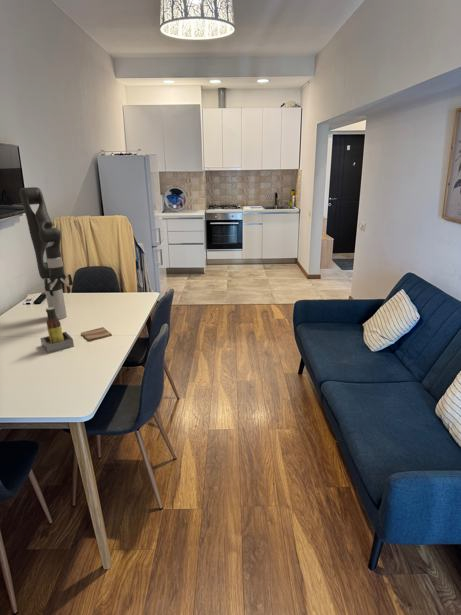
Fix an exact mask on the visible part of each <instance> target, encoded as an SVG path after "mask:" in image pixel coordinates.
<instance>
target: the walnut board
mask: <svg viewBox="0 0 461 615" xmlns="http://www.w3.org/2000/svg"><path fill="white" fill-rule="evenodd" d="M80 334H81V336H82V337H84V339H86V340H87V341H88V342H93V341H97V340H100V339H104V338H108V337H111V336H113V335H112V333H111V332H110V331H109V330H107V329H106V328H105V327H103V326H102V327H99V328H94V329H90V330H87V331H82V332H81V333H80Z"/></svg>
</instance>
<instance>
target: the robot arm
mask: <svg viewBox="0 0 461 615" xmlns="http://www.w3.org/2000/svg"><path fill="white" fill-rule="evenodd" d="M19 198H20V201H21V204H22V207H23V210H24V213H25V218H26V221H27V225H28V232H29V236H30V240H31V242H32V246H33V249H34V253H35V259H36V264H37V269H38V275H39V277H40V278H41V279H42V280H43V282H44V291H45V298H46V303H47V304H46V305H47V308H49V307H54V308H55V313H56V316H57V318H58V320H62V319H65V318H67V317H68V316H67V309H66V304H65V298H64V291H63V284H64V285H65V286H66V293H67V294H70V292H71V287H70V286H73V284H74V283H73V279H72V275H71V274H69V273H68V274H66V275H65V268H64V263H63V259H62V254H61V239H62V233H61V230H60V229H59V228H57V227H53V222H52V219H51V217H50V216H49V213H48V209H47V205H46V202H45V198H44V195H43V192H42V190H41V189H40V187H36V186H35V187H34V186H32V187H21V188H20V189H19ZM31 205H32V206H33V205H38V208H37V209H36V211H35V212H34V211H33V209H32V207H31ZM49 243H53V244H52V245H50V246H48V244H49ZM44 254H46V261H47V262H46V261H44ZM66 278H67V279H68V282H67V281H66Z"/></svg>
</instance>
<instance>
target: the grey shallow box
mask: <svg viewBox="0 0 461 615" xmlns="http://www.w3.org/2000/svg"><path fill="white" fill-rule="evenodd" d="M62 333H63V338H64V340H62V341H59V342H55V343H51V342H50V338H49V335H47V336H44V337H40V343H41V347H42V348H43V349H44V350H45V351H46V353H47V354H50V353H54V352H57V351H60V350H61V351H62V350H66V349H69V348H73V347H75V343H74V339H73V337H72V336H71V335H70V334H69V333H67V331H64V332H63V331H62Z"/></svg>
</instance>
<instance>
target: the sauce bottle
mask: <svg viewBox="0 0 461 615" xmlns="http://www.w3.org/2000/svg"><path fill="white" fill-rule="evenodd" d="M45 312H46V315H47V320H46V327H47V329H46V330H47V332H48V336H49V338H50V342H51V343H55V342H59V341H62V340H64V338H63V330H62V324H61V321H60V319H58V318H57V316H56V313H55V308H54V307H49V308H48V307H47V308H45Z"/></svg>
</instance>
